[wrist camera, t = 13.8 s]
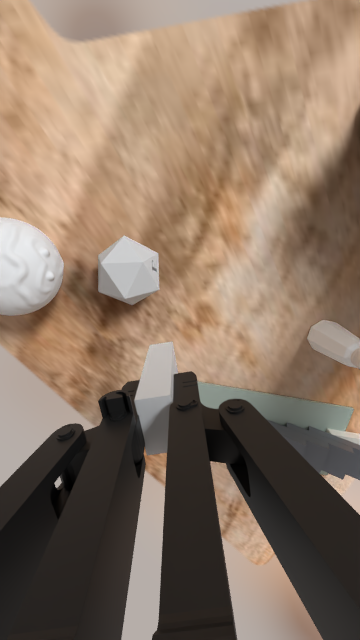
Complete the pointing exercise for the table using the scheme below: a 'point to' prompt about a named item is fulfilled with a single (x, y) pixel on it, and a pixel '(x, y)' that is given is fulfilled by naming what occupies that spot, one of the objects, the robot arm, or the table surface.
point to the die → (128, 271)
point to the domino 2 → (309, 447)
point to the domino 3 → (331, 453)
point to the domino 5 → (356, 468)
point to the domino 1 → (294, 441)
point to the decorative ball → (27, 268)
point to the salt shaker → (335, 342)
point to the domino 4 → (345, 435)
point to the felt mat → (281, 407)
